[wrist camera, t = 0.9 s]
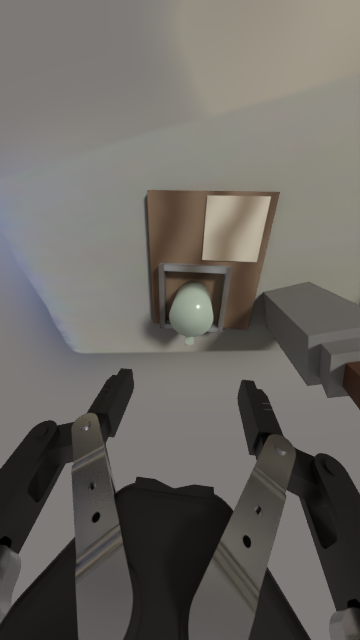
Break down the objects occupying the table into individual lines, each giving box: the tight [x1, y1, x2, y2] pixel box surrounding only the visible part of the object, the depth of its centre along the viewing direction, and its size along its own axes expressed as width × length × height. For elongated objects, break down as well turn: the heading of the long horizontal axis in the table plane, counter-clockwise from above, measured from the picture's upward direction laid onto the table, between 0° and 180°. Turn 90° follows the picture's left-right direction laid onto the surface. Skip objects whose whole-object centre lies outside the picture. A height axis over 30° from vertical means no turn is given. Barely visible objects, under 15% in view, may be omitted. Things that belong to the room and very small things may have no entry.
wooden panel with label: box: [147, 190, 280, 332], centre depth 27 cm, size 17×20×3 cm
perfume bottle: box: [264, 282, 360, 409], centre depth 22 cm, size 7×7×18 cm
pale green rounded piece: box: [169, 280, 213, 345], centre depth 26 cm, size 6×8×8 cm
